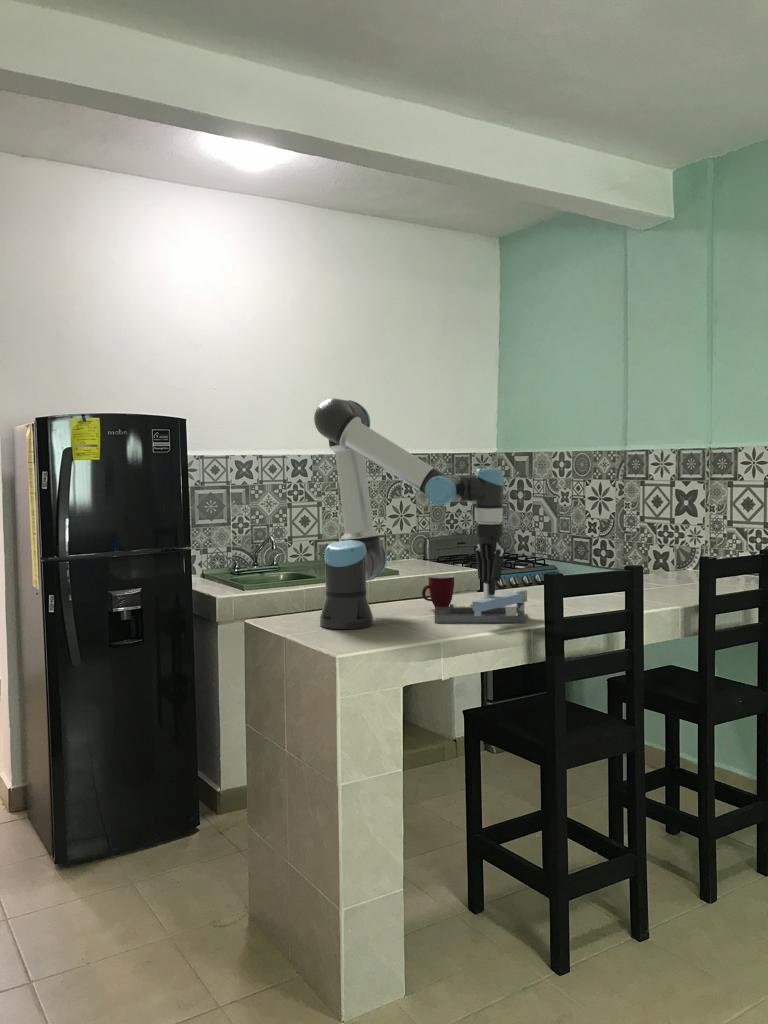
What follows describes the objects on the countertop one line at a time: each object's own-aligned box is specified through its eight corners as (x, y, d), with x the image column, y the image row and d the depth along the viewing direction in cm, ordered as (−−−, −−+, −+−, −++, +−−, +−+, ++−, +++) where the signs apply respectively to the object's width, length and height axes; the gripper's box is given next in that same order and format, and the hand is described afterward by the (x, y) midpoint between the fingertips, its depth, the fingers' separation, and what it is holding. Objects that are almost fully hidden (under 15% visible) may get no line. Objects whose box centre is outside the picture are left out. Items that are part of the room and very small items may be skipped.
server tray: (434, 622, 240) (434, 607, 240) (434, 613, 255) (434, 598, 255) (527, 622, 238) (527, 607, 238) (521, 613, 253) (521, 598, 253)
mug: (430, 611, 257) (430, 579, 257) (417, 608, 264) (416, 576, 264) (459, 608, 262) (459, 576, 262) (445, 604, 269) (445, 573, 269)
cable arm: (518, 599, 248) (518, 589, 248) (529, 600, 246) (529, 590, 245) (471, 610, 232) (471, 599, 231) (482, 611, 229) (482, 600, 229)
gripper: (513, 523, 233) (513, 608, 235) (487, 520, 245) (487, 600, 246) (491, 525, 230) (491, 610, 231) (465, 521, 241) (465, 603, 243)
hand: (489, 605), depth 239 cm, fingers closed
